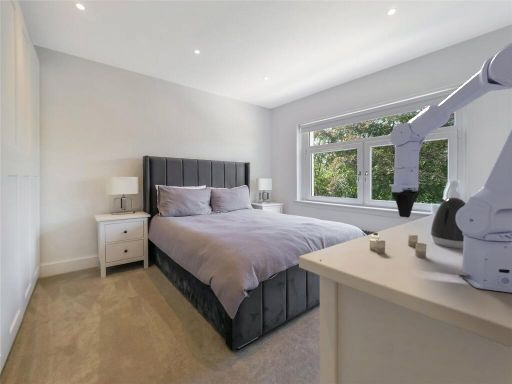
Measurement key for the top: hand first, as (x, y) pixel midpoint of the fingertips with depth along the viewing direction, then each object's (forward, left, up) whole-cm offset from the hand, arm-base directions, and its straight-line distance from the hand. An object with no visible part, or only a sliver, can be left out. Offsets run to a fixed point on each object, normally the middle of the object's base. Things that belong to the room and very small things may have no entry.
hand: (404, 216), depth 65 cm
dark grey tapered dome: (+8, -14, -10) cm, 19 cm away
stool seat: (-3, +3, -10) cm, 11 cm away
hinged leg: (-2, +8, -9) cm, 12 cm away
